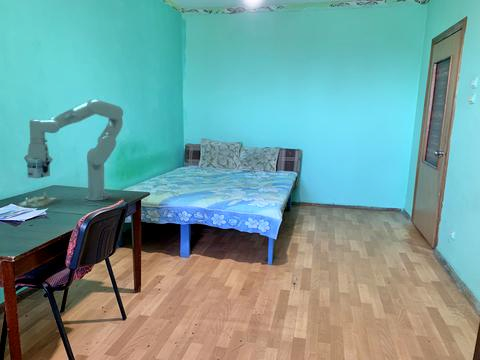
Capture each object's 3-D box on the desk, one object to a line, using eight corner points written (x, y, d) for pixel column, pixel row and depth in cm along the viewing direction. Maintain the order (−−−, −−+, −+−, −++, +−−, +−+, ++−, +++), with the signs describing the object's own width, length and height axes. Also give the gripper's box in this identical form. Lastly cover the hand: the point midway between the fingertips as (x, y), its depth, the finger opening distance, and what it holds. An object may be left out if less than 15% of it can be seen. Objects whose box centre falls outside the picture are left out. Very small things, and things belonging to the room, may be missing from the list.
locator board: (58, 199, 223) (58, 197, 223) (42, 207, 205) (42, 205, 205) (35, 198, 223) (35, 196, 222) (17, 205, 205) (17, 203, 205)
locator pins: (51, 198, 222) (50, 192, 221) (36, 204, 206) (36, 198, 205) (40, 197, 221) (40, 191, 221) (25, 204, 206) (24, 198, 205)
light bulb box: (37, 178, 207) (37, 159, 205) (27, 177, 208) (26, 158, 206) (50, 175, 217) (49, 157, 215) (40, 174, 218) (39, 156, 216)
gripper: (56, 141, 212) (57, 172, 216) (26, 139, 213) (27, 169, 216) (49, 142, 205) (50, 174, 208) (18, 140, 205) (19, 172, 208)
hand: (38, 171), depth 212 cm, fingers closed on light bulb box, 7 cm apart
